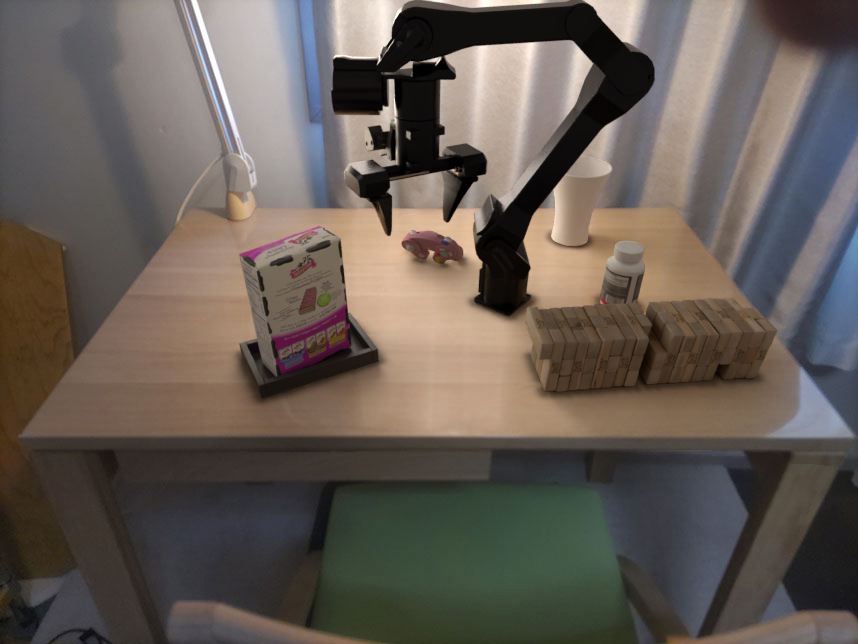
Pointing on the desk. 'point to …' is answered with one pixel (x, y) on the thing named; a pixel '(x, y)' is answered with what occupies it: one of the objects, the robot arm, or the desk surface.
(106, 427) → the desk surface
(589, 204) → the cup
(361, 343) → the tray
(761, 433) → the desk surface
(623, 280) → the pill bottle
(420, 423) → the desk surface
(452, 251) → the video game controller
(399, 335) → the desk surface
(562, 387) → the block tower
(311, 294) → the candy bar box
